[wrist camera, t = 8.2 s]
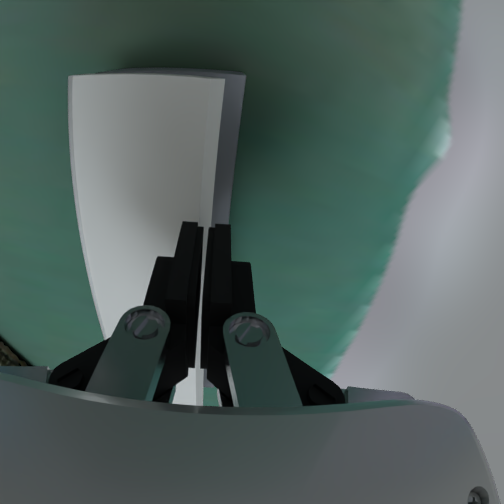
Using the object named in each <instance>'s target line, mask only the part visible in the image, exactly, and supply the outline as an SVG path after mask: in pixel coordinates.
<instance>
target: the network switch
mask: <svg viewBox="0 0 504 504" xmlns="http://www.w3.org/2000/svg"><path fill="white" fill-rule="evenodd" d="M19 363H20V364H21V366H27V364H26V362H25V361H23V362H22V361H21V360H19V359H18V357H17V356H16V355H15V354H13V352H11V350H10V349H9V347H8V346H5V345H4V344H3V342H0V366H19Z"/></svg>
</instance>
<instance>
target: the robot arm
mask: <svg viewBox="0 0 504 504" xmlns="http://www.w3.org/2000/svg"><path fill="white" fill-rule="evenodd" d="M203 233H204V227H201V226H198V222H188V221H183V222H182V225H181V229H180V233H179V237H178V242H177V246H176V250H175V254H174V257H166V256H157V258H156V261H155V265H154V268H153V271H152V275H151V278H150V282H149V285H148V289H147V293H146V296H145V300H144V304H143V305H142V306H136V307H134V308H131V309H129V310H128V311H126V312H125V313H124V314H123V315H122V317H121V318H120V320H119V322H118V324H117V326H116V328H115V330H114V332H113V334H112V335H111V337H109V338H108V339H106V340H104V341H102V342H100V343H98V344H97V345H95V346H93V347H91V348H89V349H87V350H85V351H84V352H82V353H80V354H78V355H76V356H74V357H73V358H71V359H69V360H67V361H65V362H63V363H61V364H60V365H59V366H57V367H56V368H55V369H54V370H49V368H48V366H0V504H501V503H500V500H499V496H498V492H497V489H496V485H495V482H494V479H493V476H492V473H491V470H490V467H489V464H488V462H487V459H486V456H485V454H484V451H483V449H482V447H481V444H480V442H479V440H478V439H477V436H476V434H475V432H474V430H473V429H472V427H471V425H470V424H469V422H468V421H467V419H466V418H465V417H464V416H463V415H462V414H461V413H460V412H459V411H457V410H456V409H454V408H451V407H449V406H446V405H443V404H440V403H435V402H430V401H424V400H415V399H414V398H413V397H412V396H410V395H409V394H406V393H403V392H395V391H384V390H374V389H365V388H356V387H347V389H340V387H339V386H338V385H336V384H335V383H334V382H333V381H331V380H330V379H328V378H327V377H325V376H324V375H322V374H321V373H319V372H318V371H316V370H315V369H313V368H312V367H310V366H309V365H307V364H306V363H304V362H303V361H301V360H300V359H299V358H297V357H296V356H294V355H293V354H291V353H290V352H288V351H287V350H286V349H284V348H283V347H281V344H280V341H279V338H278V335H277V333H276V330H275V328H274V326H273V324H272V323H271V322H270V321H269V320H268V319H267V318H265V317H263V316H261V315H259V314H256V310H255V301H254V291H253V281H252V272H251V264H250V262H236V261H231V225H229V224H216V223H215V227H209V229H208V239H207V249H206V260H205V271H204V283H203V295H202V315H201V352H200V369H207V380H208V381H209V382H211V383H212V384H213V385H214V386H215V387H216V388H217V396H218V401H219V407H216V406H197V405H183V404H172V402H173V399H174V395H175V392H176V384H178V383H179V382H181V381H182V380H184V379H185V378H186V377H188V370H189V368H195V360H196V345H197V331H198V318H199V305H200V293H201V272H202V251H203Z"/></svg>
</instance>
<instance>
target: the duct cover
mask: <svg viewBox="0 0 504 504" xmlns="http://www.w3.org/2000/svg"><path fill="white" fill-rule="evenodd" d="M224 86H225V79H222V78H213V77H203V76H192V75H177V74H157V73H98V74H79V75H72V76H68V127H69V147H70V161H71V172H72V182H73V191H74V199H75V207H76V214H77V220H78V227H79V233H80V239H81V244H82V250H83V255H84V260H85V265H86V270H87V274H88V279H89V283H90V287H91V292H92V296H93V300H94V304H95V308H96V312H97V315H98V319H99V323H100V326H101V330H102V333H103V336H104V340H106V339H108V338H109V337H111V335H112V334H113V332H114V330H115V328H116V326H117V324H118V322H119V320H120V318H121V317H122V315H123V314H124V313H125V312H126V311H128V310H129V309H131V308H134V307H136V306H142V305H143V304H144V300H145V296H146V293H147V289H148V285H149V282H150V278H151V275H152V271H153V268H154V265H155V261H156V258H157V256H166V257H174V254H175V250H176V246H177V242H178V237H179V233H180V229H181V225H182V222H183V221H188V222H198V226H201V227H204V233H203V251H202V272H201V293H200V305H199V318H198V331H197V345H196V360H195V368H189V370H188V377H186V378H185V379H184V380H182V381H181V382H179V383H178V384H176V392H175V395H174V399H173V402H172V404H183V405H197V406H203V375H204V369H200V352H201V315H202V295H203V283H204V271H205V260H206V249H207V239H208V229H209V227H211V220H212V207H213V194H214V183H215V172H216V161H217V150H218V140H219V131H220V121H221V112H222V103H223V94H224Z"/></svg>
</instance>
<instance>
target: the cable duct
mask: <svg viewBox="0 0 504 504" xmlns="http://www.w3.org/2000/svg"><path fill="white" fill-rule="evenodd" d="M99 73H157V74H177V75H192V76H203V77H213V78H222V79H225V86H224V94H223V103H222V112H221V121H220V131H219V140H218V150H217V161H216V172H215V183H214V194H213V207H212V220H211V227H215V223H216V224H228V223H229V213H230V204H231V195H232V186H233V177H234V169H235V160H236V152H237V144H238V136H239V127H240V120H241V112H242V104H243V96H244V89H245V81H246V75H245V74H244V73H243V72H236V71H225V70H212V69H195V68H124V69H117V70H111V71H105V72H99ZM95 74H98V73H95ZM203 387H214V385H213V384H212V383H211V382H209V381H208V380H207V369H204V375H203Z"/></svg>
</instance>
